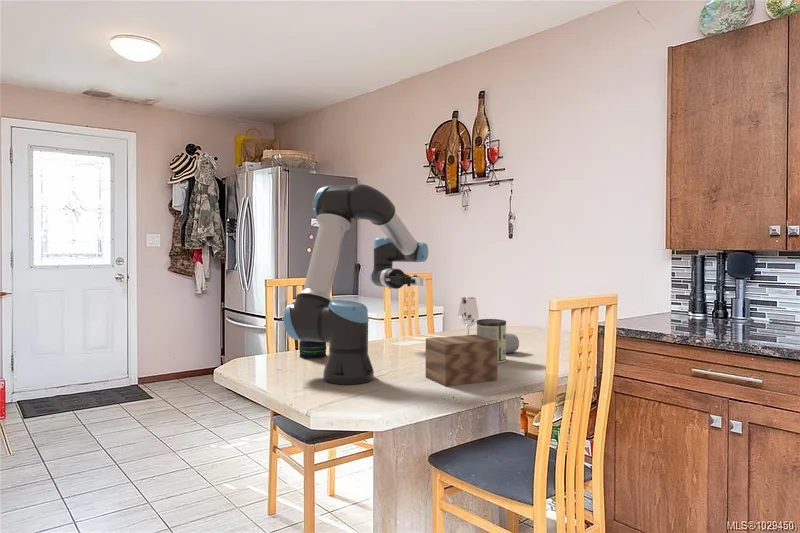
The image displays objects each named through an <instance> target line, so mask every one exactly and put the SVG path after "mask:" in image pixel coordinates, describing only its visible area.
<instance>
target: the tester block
mask: <svg viewBox="0 0 800 533" xmlns="http://www.w3.org/2000/svg"><path fill="white" fill-rule="evenodd" d="M497 359H498V340H494V339H491V338H487V337H483V336H479V335H477V334H469V335H467V334H465V335H453V336H451V335H450V336H440V337H427V338H425V378H426V379H429V380H430V381H432V382H434V381H435V383H437V384H439V385H441V386H444V387H451V386H452V387H453V386H459V385H467V384H469V385H470V384H477V383H484V382H492V381H498V363H497Z"/></svg>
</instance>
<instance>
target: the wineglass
mask: <svg viewBox="0 0 800 533" xmlns="http://www.w3.org/2000/svg"><path fill="white" fill-rule="evenodd" d="M478 308H479V307H478V304H477V299H476V297H471V296H469V297H468V296H467V297H466V296H465V297H461V298H460V304H459V308H458V315H457V316H458V320H459V322H460V324H462V325H463V326H464V327H466V335H470V328H471V327H473V326H474V325H475V324H477V320H479V309H478Z"/></svg>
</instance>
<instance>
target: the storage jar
mask: <svg viewBox="0 0 800 533" xmlns="http://www.w3.org/2000/svg"><path fill="white" fill-rule="evenodd" d="M298 349H299V350H298V351H299V358H300V359H304V360H317V359H318V360H319V359H325V358H326V357H327V342H314V341H301V340H299V345H298Z"/></svg>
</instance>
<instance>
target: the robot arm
mask: <svg viewBox="0 0 800 533" xmlns="http://www.w3.org/2000/svg"><path fill="white" fill-rule="evenodd" d="M312 207H313V209H312V211H313V215H314V216H315V219H316V222H317V223H318V224H319V226H318V228H317V229H318V230H317V234H316V237H315V242H314V247H313V249H312V254H311V258H310V261H309V266H308V270H307V273H306V278H305V282H304V285H303V290H302V291H300V292H298V293H297V294H296V297H295V300H294V301H291V302H289V303H288V304H287V305H286V307H285V308H284V311H283V325H284V328H285V332H286V334H287V335H288V337H289V338H291V339H293V340H297V341H300V340H301V341H314V342H326V344H327V343H328V345H329V346H328V347H329V352H328V356H327V360H326V362H325V366H324V369H323V374H322V375H323V376H322V377H323V378H322V379H323V381H325V382H327V383H331V384H334V385H335V384H336V385H359V384H364V383H365V384H366V383H369V382H371V381H373V380H374V378H375V376H374V375H375V374H374V373H375V372H374V368H373V365H372V362H371V359H370V355H369V310H368V307H367V306H366V305H365V304H363V303H361V302H359V301H358V302H357V301H352V300H343V299H331V297H330V296H331V291H332V288H333V283H334V281H335V280H334V278H335V275H336V271H337V268H338V267H337V266H338V262H339V257H340V255H341V254H340V253H341V249H342V245H343V239H344V236H345V232H346V231H348V230H350V228H351V225H352V222H353V220H355V221H356V220H366V221H370V222H371V223H372V224H373V225H376V226H378V227H379V229H380V230H381V231H382V232H383V233H384V234H385V236H386V237H377V238H374V241H373V250H372V251H373V269H372V270H371V272H370V273H369V279H370V282H371V283H372V284H374V285H375V286H378V287H382V288H383V287H384V288H388V289H389V290H391V289H395V290H397V289H400V288H402V287H403V286H404V285H406V286H407V287H411V286H412V285H413V286H419V287H421V286H424V277H421V276H418V275H417V274H413V275H412V276H410V275H409V274H406V273H404V271H403V270H402V269H400V268H393V266H394V265H393V263H394V262H395V263H397V262H398V263H399V262H401V263H404V262H405V263H425V262H426V261H427V259H428V256H429V246H428V244H427V243H426V242H418V241H417V240H416V239H415V237H414V236H413V234H412V233H411V232H410V231H409V229H408V228H407V226H406V225H405V224H404V222H403V221H402V219H401V218H400V216H399V215H398V214H397V213H396V207H395V204H393V202H392V201H391V200H390V198H389V197H388V196H387V195H385V194H384V193H383V192H382V191H380V190H379V189H377V188H375V187H373V186H371V185H368V184H364V183H363V184H361V183H357V184H342V185H336V184H332V185H327V186H322V187H320V188H319V189H318V190H317V191H316V193H315V195H314V197H313V201H312Z"/></svg>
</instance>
